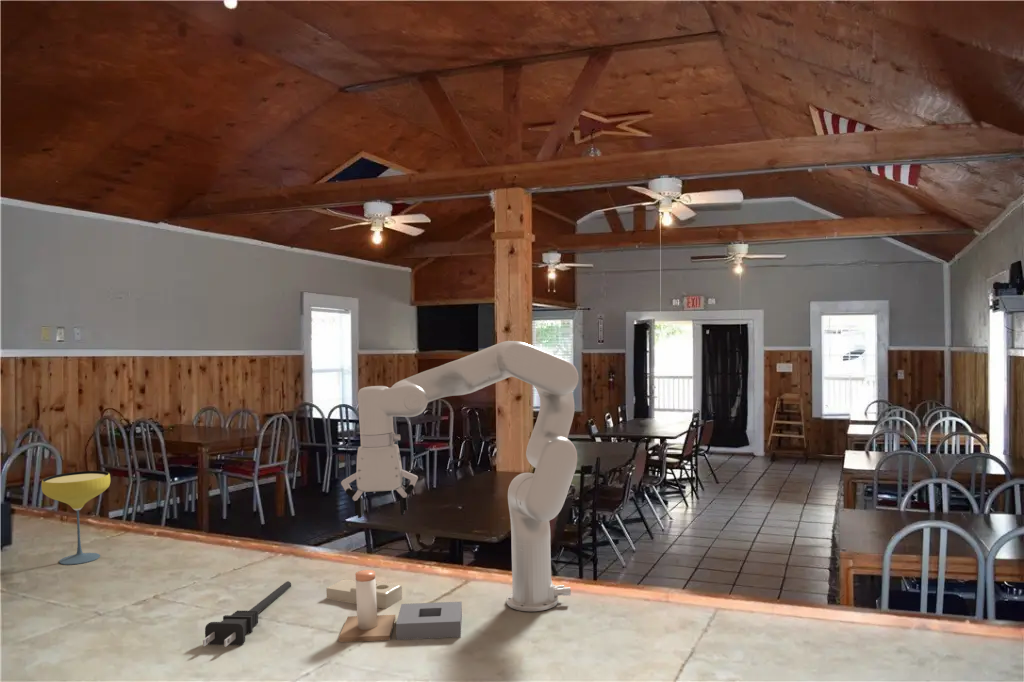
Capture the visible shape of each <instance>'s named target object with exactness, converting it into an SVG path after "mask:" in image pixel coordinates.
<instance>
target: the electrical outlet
mask: <svg viewBox="0 0 1024 682" xmlns="http://www.w3.org/2000/svg"><path fill="white" fill-rule="evenodd" d="M326 599H327V600H331V601H332V600H333V601H338V602H344V603H348V604H349V603H350V604H356V605H357V599H356V580H352V579H342V580H339V581H337V582H336V583H334V584H332V585H330V586H328V587H326ZM401 600H403V587H402V585H401V584H398V583H393V582H392V583H391V582H384V581H379V580H376V601H377V608H378V609H388V608H390V607H392V606H393V605H395V604H397V603H399V602H400V601H401Z"/></svg>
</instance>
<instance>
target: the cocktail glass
mask: <svg viewBox="0 0 1024 682" xmlns="http://www.w3.org/2000/svg"><path fill="white" fill-rule="evenodd" d="M110 484H111V474H110V472H108V471H106V470H105V471H103V470H87V471H86V470H83V471H74V472H66V473H59V474H55V475H51V476H48V477H45V478H43V479H42V480H41V492H42V493H43V495H45V496H46V497H48V499H52V500H54V501H58V502H61V503H64V504H66V505H68V506H70V507H71V509H73V510H74V511H76V528H77V535H76V536H77V548H76V553H75V554H72V555H71V554H70V555H68V556H65V557H62V558H60V560H59V561H58V563H59V564H60V565H64V566H70V565H71V566H72V565H83V564H87V563H90V562H94V561H97V560H98V559H100V557H101V555H100V553H96V552H83V550H82V544H81V528H80V527H81V526H80V511H81V510H82V509H83V507H84V506H85V505H86V504H87V503H88V502H90V501H91V500H92V499H94V498H96V497H97V496H99V495H101V494H103V493H104V492H105V491H106V490H107V489H108V488H109V487H110Z"/></svg>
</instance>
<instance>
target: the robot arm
mask: <svg viewBox="0 0 1024 682" xmlns="http://www.w3.org/2000/svg"><path fill="white" fill-rule="evenodd" d="M579 377H580V376H579V372H578V369H577V367H576V366H575V364H573V363H572V362H571V361H569V360H566V359H565V358H562V357H560V356H558V355H554V354H552V353H550V352H548V351H545V350H542V349H541V348H538V347H537V346H533V345H532V344H530V343H529V344H528V343H526V342H523V341H518V340H517V341H516V340H505V341H501V342H499V343H496V344H494V345H491V346H488V347H485V348H483V349H480V350H478V351H477V352H474V353H471V354H468V355H466V356H464V357H463V356H462V357H461V358H459V359H455V360H453V361H450V362H447V363H444V364H441V365H439V366H436V367H432V368H430V369H427V370H424V371H421V372H419V373H417V374H414V375H411V376H409V377H406V378H404V379H401V380H399V381H397V382H395V383H394V384H393V385H391V387H388V386H386V385H371V386H365V387H362V388H360V389H359V390H358V393H357V401H358V402H357V404H358V420H359V435H360V446H358V447H357V453H356V472H355V473H353V474H351V475H349V476H347V477H345V478H344V479H343V480H342V481H340V485H341V487H342V488H343V489H344V491H345V493H346V494H347V495H348V496H349V497H350V498H351V499H352V500H353V501H354V514H356V515H357V518H358V519H361V518H362V517H363V515H364V512H363V511H364V509H363V498H362V497H361V496H362V494H363V493H371V492H387V491H388V492H389V491H396V492H397V493H398V494H399V495H400V497H399V510H400V515H401V516H404V515H405V512H406V511H408V495H409V494H410V493H411V492H412V491H413V490H414V488H415V486H416V483H417V482H418V479H419V477H418V475H416V474H415V473H411V472H409V471H407V470H405V469H403V467H402V466H403V465H402V458H401V454H400V449H399V445H398V443H397V444H396V442H397V441H401V434H397V433H395V430H394V417H398V418H399V417H402V418H404V417H405V418H413V417H416V416H419V415H421V414H422V413H423V412H425V410H426V409H427V407H428V404H429V403H430V402H433V401H435V400H438V399H441V398H446V397H452V396H453V397H454V396H464V395H468V394H472V393H474V392H477V391H479V390H482V389H484V388H485V387H488V386H491V385H493V384H496V383H498V382H501V381H504V380H505V379H509V378H516V379H518V380H520V381H523V382H525V383H527V384H529V385H531V386H533V387H534V388H535V390H537V393H538V396H539V401H540V402H539V403H540V404H539V411H538V414H537V418H536V422H535V423H534V426H533V430H532V431H531V435H530V438H529V440H528V443H527V446H526V452H525V456H526V460H527V461H528V463H529V464H530V465H531V466H532V467H534V473H533V472H522V473H519V474H518V475H516V476H514V478H513V479H512V480H511V482H510V483H509V486H508V490H507V504H508V511H509V519H510V531H511V532H510V534H511V538H510V539H511V578H512V585H511V587H512V592H511V593H509V594H508V595H507V597H506V604H507V606H508V607H509V608H511V609H514V610H517V611H520V612H521V611H522V612H542V611H546V610H550V609H553V608H554V607H556V606H557V604H558V603H559V596H566V597H567V596H571V595H572V594H571V593H572V592H571V590H572V589H571V586H569V587H568V586H567V587H566V586H565V585H564V584H562V585H561V584H559V585H555V584H554V583H553V580H552V560H551V557H552V556H551V553H552V552H551V550H552V549H551V526H550V525H551V524H550V521H551V520H554V519H555V518H556V517H558V515H559V513H561V511H562V508H563V507H564V505H565V501H566V499H567V496H568V494H569V489H570V487H571V484H572V481H573V478H574V475H575V472H576V469H577V466H578V465H577V464H578V451H577V449H576V446H575V445H574V443H573V442H572V441H571V440H570V439H569V438H568V437H569V434H570V430H571V427H572V423H573V419H574V416H575V398H574V394H573V391H575V390H576V388H577V386H578V385H579ZM404 478H405V479H407V480H409V481H410V482H409V484H408V486H407V487H405V486H403V481H404ZM355 480H356V488H357V490H355V489H354V488H352V487H351V485H350V484H351V483H353V482H354V481H355Z"/></svg>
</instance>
